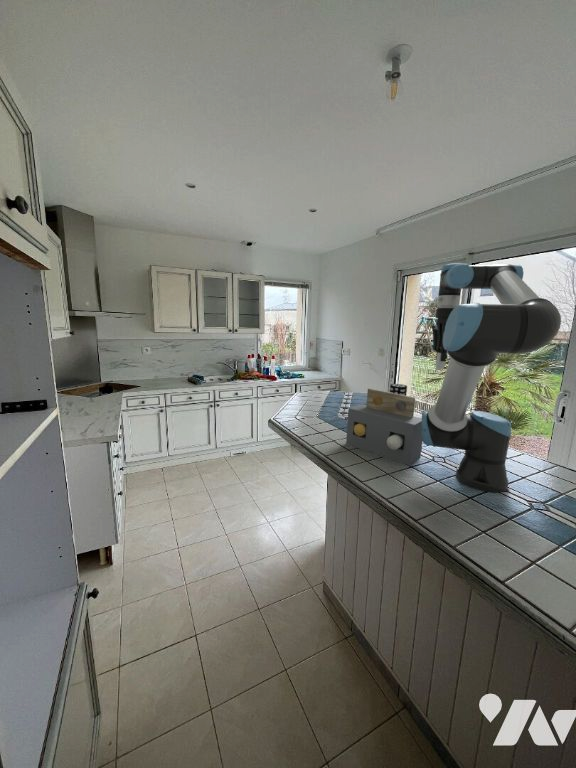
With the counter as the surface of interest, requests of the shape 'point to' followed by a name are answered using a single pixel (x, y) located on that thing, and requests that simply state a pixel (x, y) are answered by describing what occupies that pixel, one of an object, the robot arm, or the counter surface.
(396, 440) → the button ivory
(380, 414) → the console
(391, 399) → the placard
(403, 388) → the black white block
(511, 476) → the counter surface
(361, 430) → the button ochre
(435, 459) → the counter surface
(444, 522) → the counter surface
